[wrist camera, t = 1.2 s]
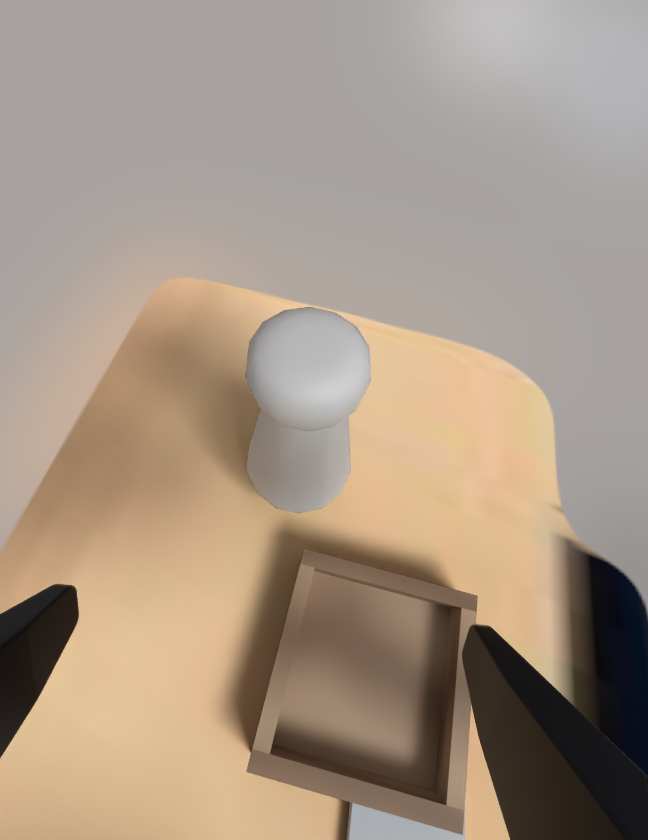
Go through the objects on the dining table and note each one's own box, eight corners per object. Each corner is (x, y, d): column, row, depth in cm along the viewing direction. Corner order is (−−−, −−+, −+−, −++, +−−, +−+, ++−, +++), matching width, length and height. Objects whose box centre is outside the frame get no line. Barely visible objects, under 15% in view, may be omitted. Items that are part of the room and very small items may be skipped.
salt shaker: (237, 508, 23) (187, 400, 11) (265, 422, 25) (246, 262, 14) (335, 531, 23) (387, 446, 11) (353, 442, 25) (409, 298, 14)
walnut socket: (442, 809, 18) (463, 835, 16) (251, 753, 18) (246, 772, 16) (459, 597, 22) (477, 595, 20) (302, 554, 22) (304, 548, 20)
